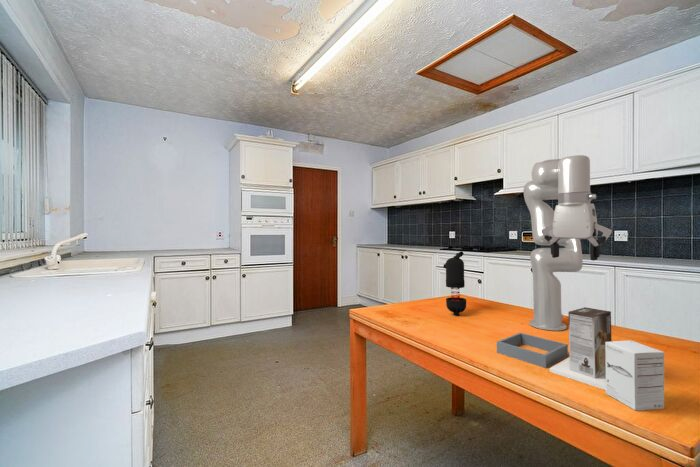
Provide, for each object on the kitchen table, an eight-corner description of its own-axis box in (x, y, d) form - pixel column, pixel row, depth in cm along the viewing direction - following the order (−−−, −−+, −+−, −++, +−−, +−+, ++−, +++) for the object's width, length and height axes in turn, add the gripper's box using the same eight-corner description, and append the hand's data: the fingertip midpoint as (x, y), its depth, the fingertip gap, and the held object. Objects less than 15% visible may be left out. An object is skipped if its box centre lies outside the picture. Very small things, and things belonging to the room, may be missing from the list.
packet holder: (520, 342, 110) (520, 332, 110) (567, 355, 98) (567, 344, 98) (496, 352, 101) (496, 341, 101) (545, 368, 89) (545, 355, 89)
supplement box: (604, 394, 75) (603, 341, 75) (632, 392, 76) (632, 339, 76) (634, 411, 68) (634, 353, 68) (666, 409, 68) (665, 351, 68)
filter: (472, 317, 142) (471, 251, 142) (455, 319, 139) (454, 251, 139) (453, 310, 155) (452, 249, 155) (437, 312, 152) (436, 250, 152)
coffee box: (585, 362, 90) (584, 306, 90) (613, 370, 85) (612, 311, 84) (568, 369, 86) (567, 311, 86) (596, 379, 80) (595, 316, 80)
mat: (571, 359, 95) (571, 355, 95) (631, 376, 83) (631, 372, 83) (549, 371, 87) (549, 368, 87) (613, 392, 75) (613, 388, 75)
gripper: (615, 197, 86) (615, 259, 87) (547, 201, 100) (547, 255, 101) (606, 197, 82) (606, 262, 83) (535, 201, 96) (536, 257, 97)
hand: (574, 258), depth 92 cm, fingers open, 9 cm apart
